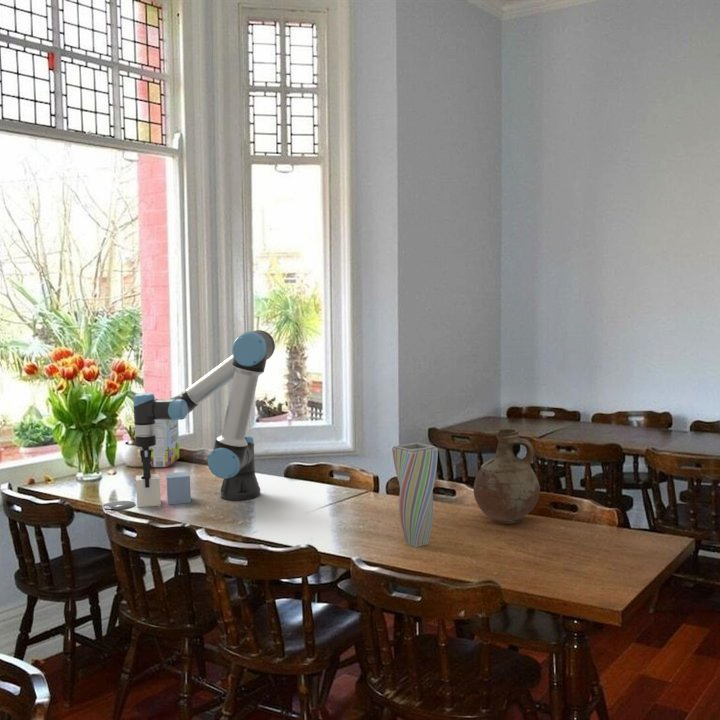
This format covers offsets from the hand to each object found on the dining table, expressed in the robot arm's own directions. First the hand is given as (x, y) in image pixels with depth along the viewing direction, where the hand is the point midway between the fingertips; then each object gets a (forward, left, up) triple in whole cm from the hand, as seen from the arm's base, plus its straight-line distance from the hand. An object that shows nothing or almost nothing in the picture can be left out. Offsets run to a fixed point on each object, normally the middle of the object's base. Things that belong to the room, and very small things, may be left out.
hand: (147, 491), depth 320 cm
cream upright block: (0, 0, -5) cm, 5 cm away
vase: (-112, +10, -5) cm, 113 cm away
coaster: (+8, +7, -5) cm, 11 cm away
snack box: (+42, -62, -5) cm, 75 cm away
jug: (-130, -24, -5) cm, 133 cm away
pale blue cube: (-9, -7, -5) cm, 12 cm away
